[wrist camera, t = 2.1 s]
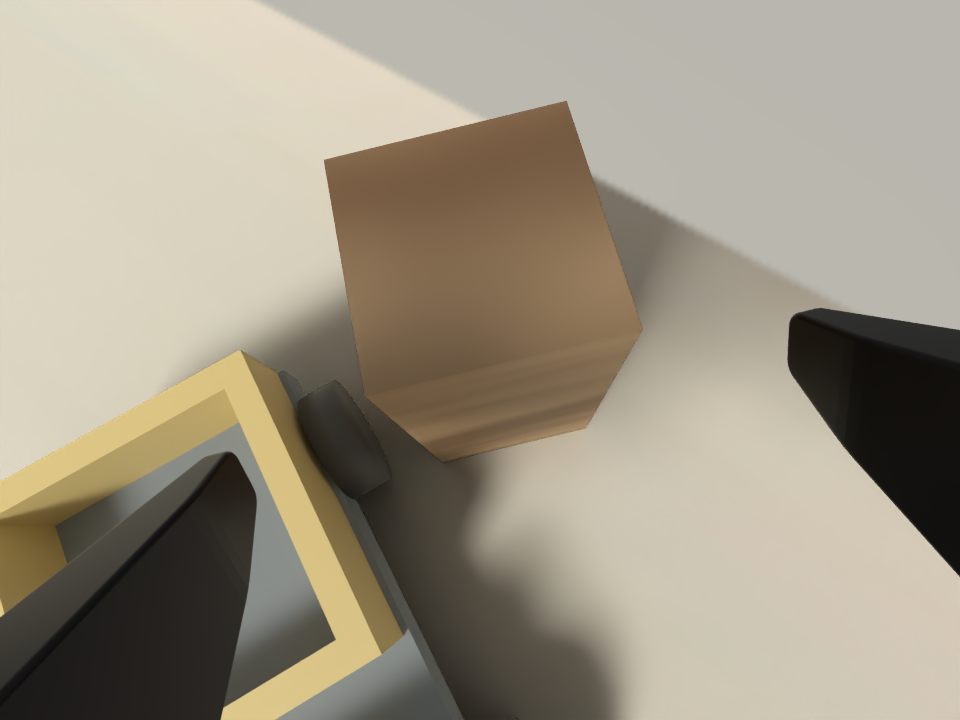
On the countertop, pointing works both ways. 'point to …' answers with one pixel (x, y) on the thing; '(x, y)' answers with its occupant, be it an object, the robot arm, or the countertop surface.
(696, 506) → the countertop surface
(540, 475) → the countertop surface
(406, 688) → the toy chassis
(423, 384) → the walnut block
